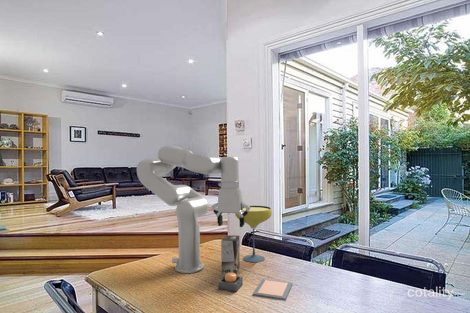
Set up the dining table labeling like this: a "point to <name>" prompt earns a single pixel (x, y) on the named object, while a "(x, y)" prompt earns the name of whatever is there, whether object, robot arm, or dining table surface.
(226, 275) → the button
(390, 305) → the dining table surface
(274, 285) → the picture board
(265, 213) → the cocktail glass
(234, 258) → the coffee box
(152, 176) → the robot arm
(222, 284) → the button housing
